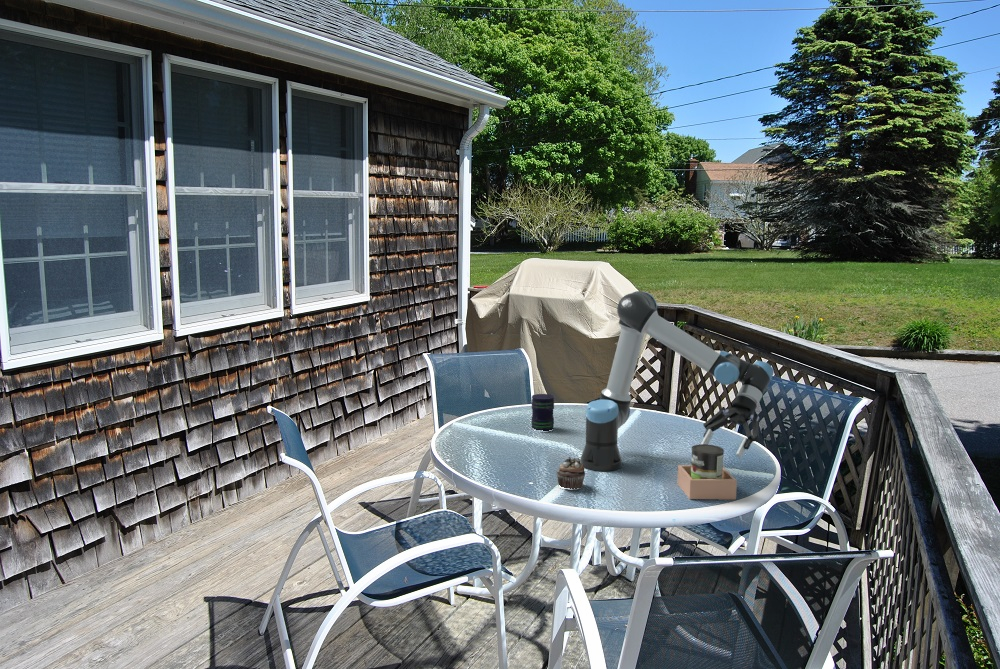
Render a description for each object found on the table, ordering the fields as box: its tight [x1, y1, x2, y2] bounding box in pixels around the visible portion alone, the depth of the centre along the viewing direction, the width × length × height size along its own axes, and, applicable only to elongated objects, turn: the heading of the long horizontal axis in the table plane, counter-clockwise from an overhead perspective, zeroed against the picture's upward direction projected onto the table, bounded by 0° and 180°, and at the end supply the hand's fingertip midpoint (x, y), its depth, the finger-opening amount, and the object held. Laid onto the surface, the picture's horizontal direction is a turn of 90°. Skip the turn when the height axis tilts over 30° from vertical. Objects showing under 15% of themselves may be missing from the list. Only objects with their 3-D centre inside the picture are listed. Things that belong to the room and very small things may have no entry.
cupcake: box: [556, 457, 586, 489], centre depth 239 cm, size 10×10×10 cm
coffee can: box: [690, 443, 725, 479], centre depth 234 cm, size 10×10×14 cm
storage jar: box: [530, 393, 555, 431], centre depth 310 cm, size 10×10×15 cm
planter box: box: [676, 464, 738, 501], centre depth 235 cm, size 15×15×6 cm
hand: (720, 451), depth 238 cm, fingers open, 13 cm apart
